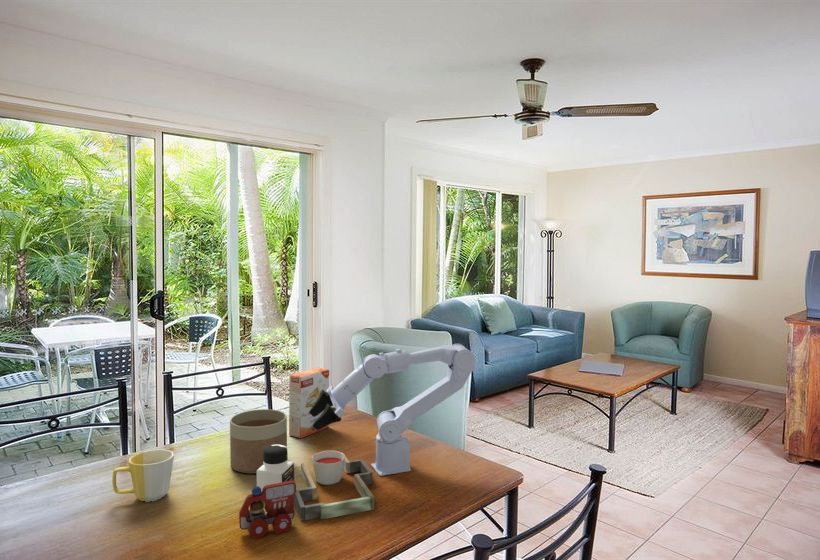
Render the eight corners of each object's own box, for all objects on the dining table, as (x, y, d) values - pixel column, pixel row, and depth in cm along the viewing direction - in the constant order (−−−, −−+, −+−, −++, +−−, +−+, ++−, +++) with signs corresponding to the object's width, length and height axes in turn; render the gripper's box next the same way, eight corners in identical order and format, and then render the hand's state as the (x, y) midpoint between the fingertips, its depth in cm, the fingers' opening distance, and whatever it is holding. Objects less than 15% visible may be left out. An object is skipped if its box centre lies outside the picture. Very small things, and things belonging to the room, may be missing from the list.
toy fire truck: (238, 526, 119) (237, 482, 118) (293, 516, 124) (292, 473, 123) (240, 542, 113) (239, 495, 112) (298, 531, 117) (298, 486, 117)
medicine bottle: (282, 500, 131) (282, 453, 131) (256, 497, 133) (255, 451, 132) (294, 487, 138) (294, 443, 138) (269, 484, 140) (269, 441, 139)
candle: (345, 486, 140) (345, 462, 139) (311, 488, 138) (311, 464, 138) (344, 471, 148) (344, 449, 148) (312, 473, 147) (312, 451, 147)
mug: (178, 485, 139) (177, 447, 138) (170, 504, 129) (169, 462, 128) (121, 491, 135) (120, 451, 135) (108, 510, 126) (107, 468, 125)
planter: (266, 479, 143) (266, 429, 142) (218, 470, 148) (217, 423, 147) (297, 457, 158) (297, 412, 157) (252, 450, 163) (252, 406, 162)
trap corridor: (359, 465, 153) (359, 455, 153) (389, 506, 129) (389, 494, 129) (284, 476, 145) (284, 466, 144) (301, 523, 121) (301, 510, 120)
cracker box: (301, 439, 172) (301, 377, 171) (288, 435, 176) (287, 374, 174) (330, 427, 184) (330, 368, 183) (317, 424, 187) (317, 366, 186)
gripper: (336, 368, 152) (300, 400, 151) (345, 390, 139) (306, 425, 138) (351, 383, 155) (316, 415, 154) (362, 406, 142) (324, 441, 141)
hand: (313, 421), depth 146 cm, fingers open, 7 cm apart
